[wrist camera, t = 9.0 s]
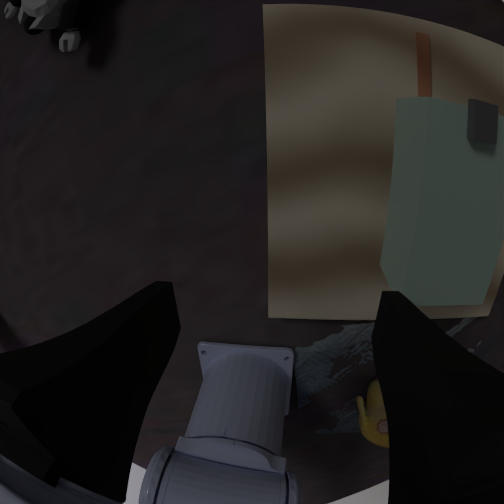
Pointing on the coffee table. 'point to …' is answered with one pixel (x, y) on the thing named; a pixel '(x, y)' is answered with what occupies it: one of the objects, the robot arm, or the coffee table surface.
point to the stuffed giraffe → (317, 365)
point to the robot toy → (53, 18)
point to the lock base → (351, 146)
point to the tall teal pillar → (445, 201)
